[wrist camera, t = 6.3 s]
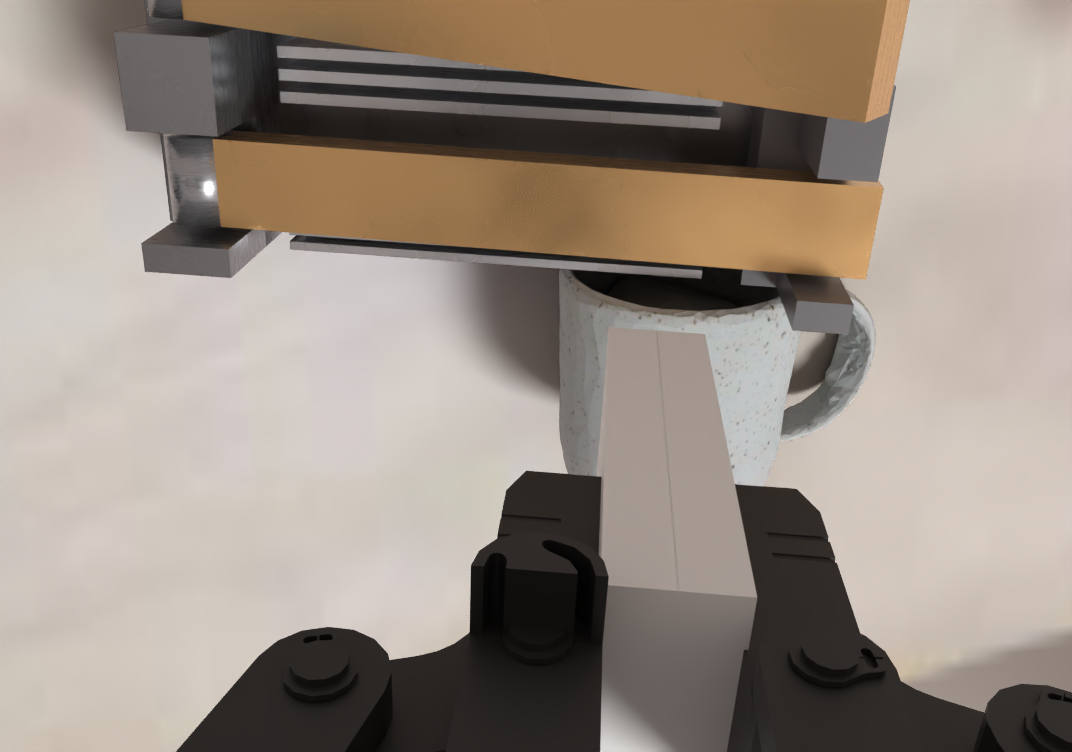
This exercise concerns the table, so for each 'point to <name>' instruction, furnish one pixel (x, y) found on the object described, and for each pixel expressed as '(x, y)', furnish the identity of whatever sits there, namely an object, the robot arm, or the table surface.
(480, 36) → the strap near
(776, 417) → the ceramic mug
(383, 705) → the robot arm
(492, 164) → the orange long bar
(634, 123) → the gray cradle frame
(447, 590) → the table surface
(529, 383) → the table surface
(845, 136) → the lug bar
